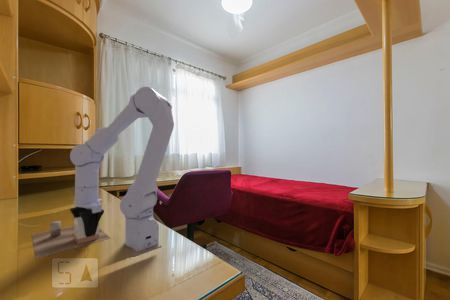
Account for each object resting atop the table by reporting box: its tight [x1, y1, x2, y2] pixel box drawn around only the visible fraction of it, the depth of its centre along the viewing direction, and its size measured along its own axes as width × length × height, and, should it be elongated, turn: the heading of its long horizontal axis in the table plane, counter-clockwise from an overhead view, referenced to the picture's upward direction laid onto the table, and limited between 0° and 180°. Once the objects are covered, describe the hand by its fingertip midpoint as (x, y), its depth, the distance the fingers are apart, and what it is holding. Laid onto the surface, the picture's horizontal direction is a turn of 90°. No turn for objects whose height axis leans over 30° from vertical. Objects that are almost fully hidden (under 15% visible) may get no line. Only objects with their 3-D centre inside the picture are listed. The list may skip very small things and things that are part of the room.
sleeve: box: [73, 217, 100, 244], centre depth 59 cm, size 5×5×6 cm
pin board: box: [31, 220, 111, 260], centre depth 60 cm, size 20×16×5 cm
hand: (86, 233), depth 58 cm, fingers closed on sleeve, 5 cm apart
